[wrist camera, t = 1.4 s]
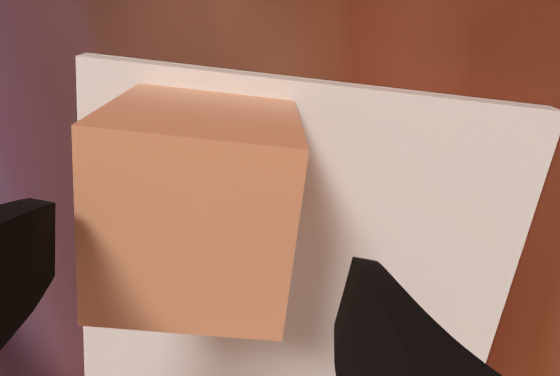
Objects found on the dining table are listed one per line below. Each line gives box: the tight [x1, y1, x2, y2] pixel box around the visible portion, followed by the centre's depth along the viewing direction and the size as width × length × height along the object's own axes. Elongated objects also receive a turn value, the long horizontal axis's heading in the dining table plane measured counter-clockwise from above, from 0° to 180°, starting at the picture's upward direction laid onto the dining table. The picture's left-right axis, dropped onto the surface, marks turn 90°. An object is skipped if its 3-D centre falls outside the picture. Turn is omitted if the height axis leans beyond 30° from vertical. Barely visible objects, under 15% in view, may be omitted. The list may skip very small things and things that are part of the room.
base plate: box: [76, 53, 560, 376], centre depth 21 cm, size 18×17×1 cm
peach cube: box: [71, 83, 309, 342], centre depth 16 cm, size 6×6×6 cm
